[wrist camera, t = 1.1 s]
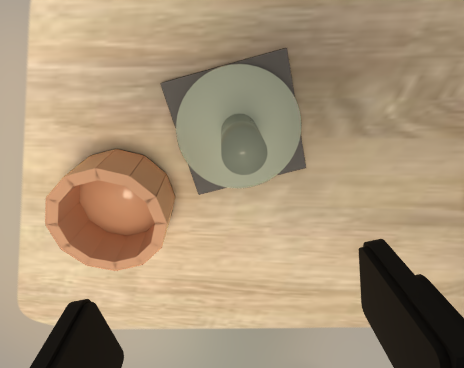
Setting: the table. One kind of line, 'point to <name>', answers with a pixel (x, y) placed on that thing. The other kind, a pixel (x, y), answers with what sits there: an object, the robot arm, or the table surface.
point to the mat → (270, 61)
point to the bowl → (111, 210)
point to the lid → (238, 126)
